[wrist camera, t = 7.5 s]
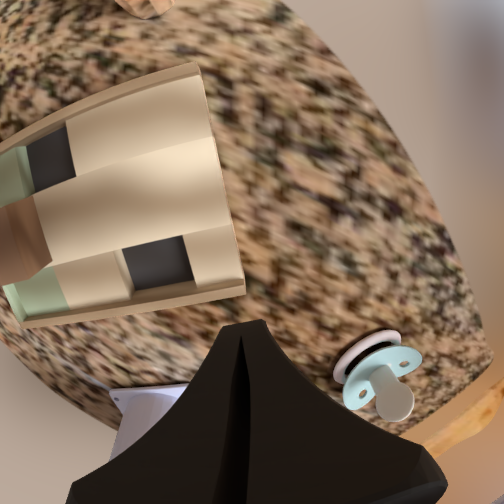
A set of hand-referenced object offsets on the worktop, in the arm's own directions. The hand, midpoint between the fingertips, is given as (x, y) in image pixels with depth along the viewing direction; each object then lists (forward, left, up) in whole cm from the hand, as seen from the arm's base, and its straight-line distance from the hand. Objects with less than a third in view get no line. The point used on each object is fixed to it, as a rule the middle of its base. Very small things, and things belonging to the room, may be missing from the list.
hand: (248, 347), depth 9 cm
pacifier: (-12, -8, -10) cm, 18 cm away
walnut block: (+5, +15, -8) cm, 17 cm away
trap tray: (+5, +9, -10) cm, 14 cm away
